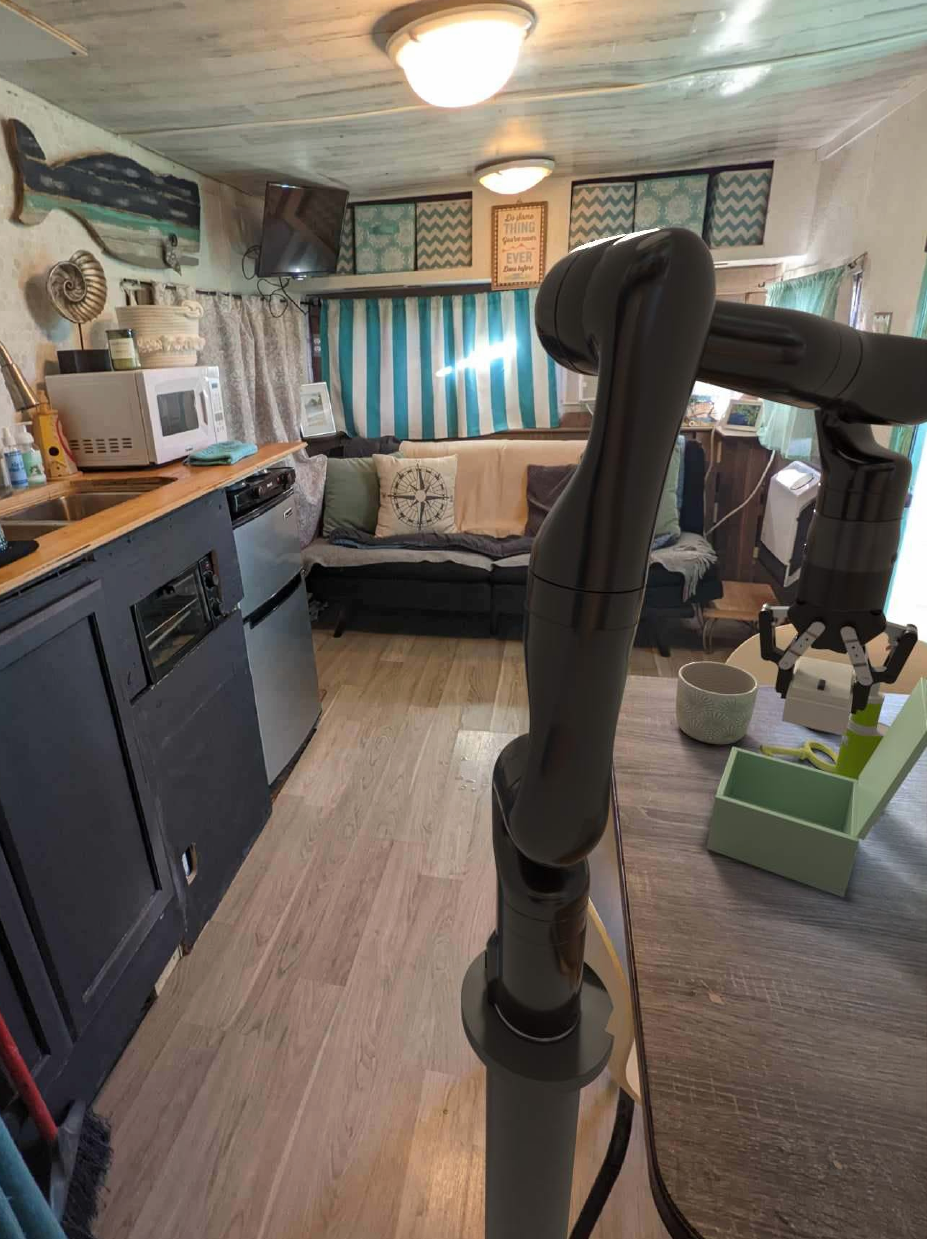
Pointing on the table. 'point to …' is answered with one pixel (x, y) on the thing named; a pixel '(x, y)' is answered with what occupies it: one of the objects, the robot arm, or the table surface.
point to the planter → (715, 701)
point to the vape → (861, 736)
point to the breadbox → (786, 819)
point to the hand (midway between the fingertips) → (817, 702)
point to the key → (804, 753)
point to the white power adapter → (820, 695)
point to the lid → (892, 759)
